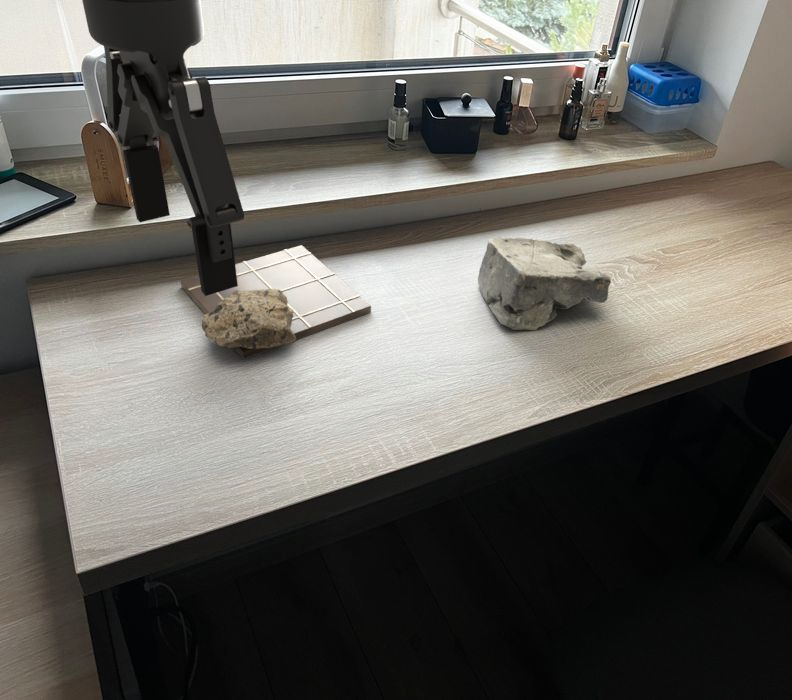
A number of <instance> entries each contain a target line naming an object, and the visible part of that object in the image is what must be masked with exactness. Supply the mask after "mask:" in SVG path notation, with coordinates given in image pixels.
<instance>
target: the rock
mask: <svg viewBox="0 0 792 700" xmlns="http://www.w3.org/2000/svg"><path fill="white" fill-rule="evenodd" d="M287 304H288V301H287V297H286V296H285V295H284V294H283V293H282V292H281V291H280V290H277V289H262V290H250V291H245V290H237V291H234V292H233V293H232V295H230V297H229V298H225V299H224V300H222V301H221V302H220V303H218V304H217V307H216V309H215V310H214V311H213V312H211V313H208V314H205V313H204V316H203V317H204V318H203V319H202V320H201V329H202V330H203V332H204V335H205V337H206V338H208V339H209V340H211V342H212V343H213V344H215V345H217V346H218V347H223V348H224V347H225V348H229V349H232V348H234V347H244V348H247V349H252V348H256V349H258V348H270V347H275V346H278V347H280V346H279V345H281V344H284V343H285V344H284V345H286V344H291V343H294V342H295V341H297V340H296V337H295V336H294V334H293V333H292V331H291V329H290V327H291V324H292V318H293V316H294V315H293V309H290V307H289V306H288V305H287ZM281 346H282V345H281Z"/></svg>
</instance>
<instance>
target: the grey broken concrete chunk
mask: <svg viewBox="0 0 792 700" xmlns="http://www.w3.org/2000/svg"><path fill="white" fill-rule="evenodd" d="M586 264H587V261H586V257H585V254H584V253H583V249H582V248H581V247H579V246H577V245H576V244H573V243H556V242H551V241H548V240H540V239H536V238H535V239H534V238H530V237H510V236H509V237H492V238H490V239H488V240H487V245H486V250H485V253H484V255H483V258H482V261H481V264H480V267H479V270H478V271H479V272H478V277H477V284H478V287H479V290H480V294H481V295H482V297H483V299H484V300H485V303H488V304H489V305H488V307H489V309H490V310H491V312H492V314H493V315H494V316H495V317H496V319H497V320H498V322H499V324H500V325H503V326H505V327H507V328H510V329H511V330H515V331H517V330H518V331H520V330H527V331H537V329H539V328H540V327H541V328H542V327H544V326H546V324H547V323H550V322H551V321H553V320H554V319H555V318H556V317H557V316H558V313H557V309H561V310H567V309H570V308H571V307H573V306H575V305H578V304H580V303H581V302H582V300H583V299H586V300H588V301H590V302H595V303H597V304H604V303H606V302H607V300H608V297H609V288H610V285H611V284H612V279H611V277H610V275H608V274H606V273H602V272H601V271H599V270H591V269H583V267H584V266H585V265H586Z"/></svg>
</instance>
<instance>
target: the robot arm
mask: <svg viewBox="0 0 792 700" xmlns="http://www.w3.org/2000/svg"><path fill="white" fill-rule="evenodd" d="M81 2H82V6H83V10H84V15H85V18H86V19H85V20H86V24H87V28H88V29H87V30H88V33H89V36H90V37H91V38H92V39H93V41H94V42H95V43H97V44H99V45H101V46H102V47H103V48H104V55H105V75H106V76H105V77H106V79H105V80H106V98H107V99H106V101H107V125H108V129H110V130H111V131H110V132H112V133H117V134H116V137H117V138H116V139H117V142H118V144H119V145H120V146H121V148H125V149H123V150H122V154H123V159H124V164H125V170H126V172H127V173H126V174H127V178H128V183H129V188H130V193H131V196H132V203H133V207H134V213H135V217H136V220H137V221H138V222H139V223H143V222H147V221H153V220H157V219H160V218H164V217H168V216H170V215H171V214H170V209H169V202H168V197H167V191H166V184H165V179H164V173H163V168H162V162H161V157H160V151H159V147H158V146H157V145H156V144H150V145H147V144H148V143H154V142H155V143H156V142H160V141H161V138H163V139H164V141H165V143H166V145H167V148H168V151H169V153H170V156H171V158H172V161H173V163H174V166H175V168H176V171H177V174H178V176H179V179H180V181H181V183H182V186H183V189H184V191H185V193H186V196H187V199H188V201H189V204H190V207H191V210H192V212H193V214H194V216H192V217H190V218H189V219H187V221H186V224H187V226H188V227H189V229H191V233H192V239H193V245H194V251H195V258H196V259H195V260H196V266H197V270H198V275H199V278H200V284H201V291H202V292H203V294H204V295H205V296H207V295H211V294H214V293H217V292H220V291H224V290H227V289H230V288H233V287H236V286H238V284H237V275H236V267H235V264H236V260H235V259H236V258H235V251H234V242H233V235H232V234H233V233H232V226H231V224H233V223H236V222H240V221H243V220H244V219H245V211H244V208H243V206H242V202H241V199H240V194H239V192H238V189H237V184H236V181H235V178H234V174H233V172H232V168H231V164H230V161H229V157H228V155H227V151H226V148H225V144H224V141H223V137H222V133H221V130H220V127H219V124H218V120H217V117H216V114H215V113H216V112H215V107H214V102H213V97H212V96H213V95H212V90H211V89H212V88H211V84H210V82H209V79H207V78H208V77H206V76H201V77H193V76H192V73H191V71H190V70H189V68H188V67H187V64H186V63H187V62H186V59H185V58H184V56H185V53H186V52H187V50H188V49H189V48H191V47H194V46H196V45H198V44H199V43H200V42H201V41H202V40H203V38H204V37H205V25H204V19H203V9H202V1H201V0H81Z"/></svg>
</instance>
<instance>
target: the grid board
mask: <svg viewBox="0 0 792 700" xmlns="http://www.w3.org/2000/svg"><path fill="white" fill-rule="evenodd" d="M235 267H236V275H237V284H238V286H236V287H233V288H230V289H227V290H224V291H220V292H217V293H214V294H211V295H207V296H205V295H204V294H203V292H202V291H201V284H200V278H199V274H197V275H193V276H191V277H187V278H183V279H180V281H179V282H180V287H181V288H182V289H183V291H184V292H185V293H186V294H187V296H189V297H190V299H191V300H192V301H193V302H194V303H195V304H196V306H198V308H199V309H200V310H201V311H202V313H203V314H204V315H205V314H208V313H211V312H213V311H214V310H215V309H216V307H217V304H218V303H220V302H221V301H222V300H224V299H225V298H229V297H230V295H232V293H233V292H234V291H237V290H245V291H250V290H262V289H277V290H280V291H281V292H282V293H283V294H284V295H285V296H286V297H287V301H288V304H287V305H288V306H289V307H290V309H293V315H294V316H293V318H292V324H291V327H290V329H291V331H292V333H293V334H294V336H295V337H296V340H295V341H297V340H300V339H302V338H306V337H308V336H311V335H313V334H316V333H319V332H321V331H322V332H323V331H325V330H326V329H330V328H332V327H335V326H337V325H341V324H343V323H346V322H349V321H351V320H354V319H357V318H359V317H362V316H365V315H368V314H370V313H371V312H372V305H371V304H370V303H368V302H367V301H366V300H365V299H364V298H363V297H362V296H361V295H360V294H358V293H357V292H356V291H355V290H354V289H353V288H351V286H349V285H348V284H347V283H346V282H344V281H343V280H342V279H341V278H340V277H339V276H338V275H337V274H336V273H335V272H333V271H332V270H331V269H330V268H329V267H327V265H325V264H324V263H323V262H322V261H321V260H319V259H318V258H317V257H316V256H315V255H314V254H313V253H312V252H310V251H309V250H308V249H307V248H306V247H305V246H303V245H302V244H300V245H297V246H293V247H290V248H285V249H283V250H279V251H277V252H273V253H270V254H266V255H263V256H260V257H256V258H251V259H249V260H243V261H242V262H238V263H235ZM284 345H286V344H285V343H284V344H281V345H279V346H275V347H270V348H258V349H256V348H252V349H247V348H244V347H233V348H234V349H235V351H236V352H237V353H238V354H239V355H240V356H241V357H242V359H243V360H245V359H246V360H247V359H248V358H249V359H250V358H251V357H254V356H256V355H260V354H262V353H264V352H267V351H270V350H273V349H275V348H278V347H281V346H284Z"/></svg>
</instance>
